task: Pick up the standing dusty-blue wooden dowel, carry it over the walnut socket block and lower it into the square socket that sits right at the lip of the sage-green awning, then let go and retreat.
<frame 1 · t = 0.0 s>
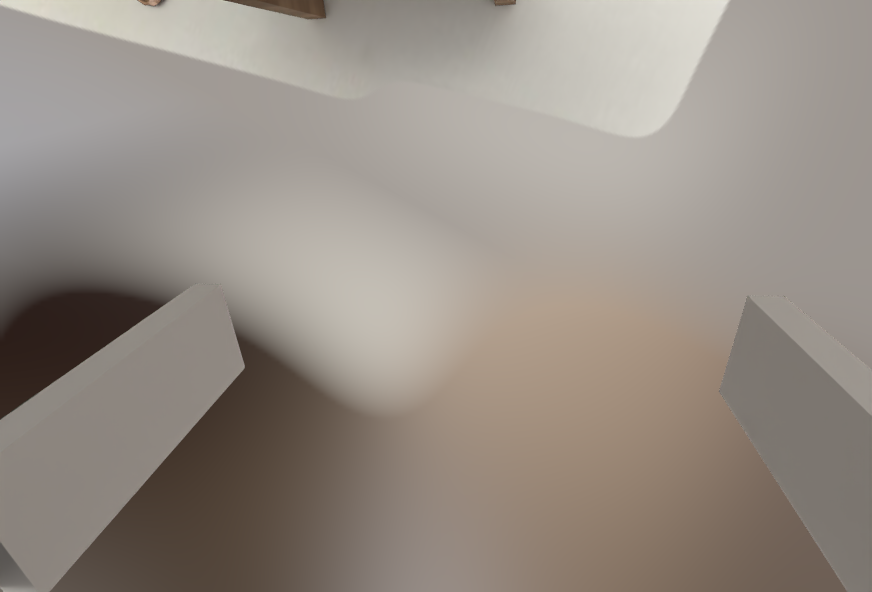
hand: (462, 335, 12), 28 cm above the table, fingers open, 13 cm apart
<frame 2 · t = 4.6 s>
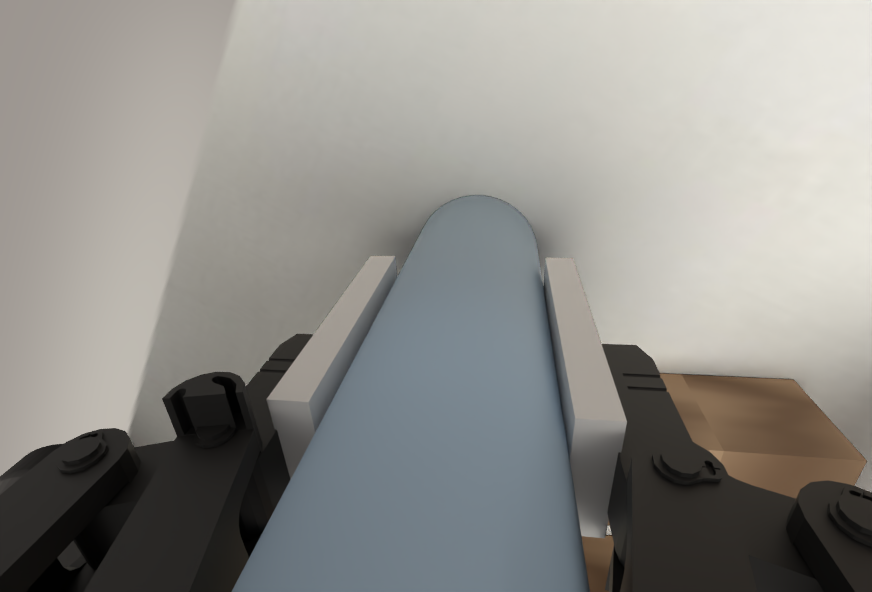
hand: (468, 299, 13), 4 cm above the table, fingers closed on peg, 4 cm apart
socket station: (584, 491, 21), on the table
peg: (476, 254, 17), on the table, touching gripper
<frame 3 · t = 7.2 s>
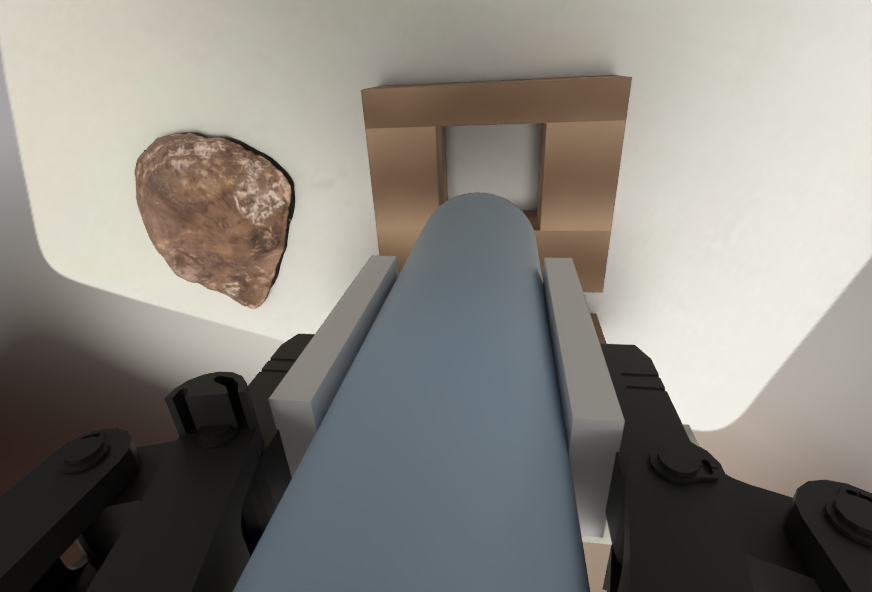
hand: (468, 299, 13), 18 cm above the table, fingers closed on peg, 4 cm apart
shell: (222, 212, 34), on the table
socket station: (492, 166, 29), on the table
peg: (477, 250, 17), point 14 cm above the table, touching gripper
when the fingers open (6 cm above the table, at t = 9.6 s): peg stays where it is, resting in socket station.
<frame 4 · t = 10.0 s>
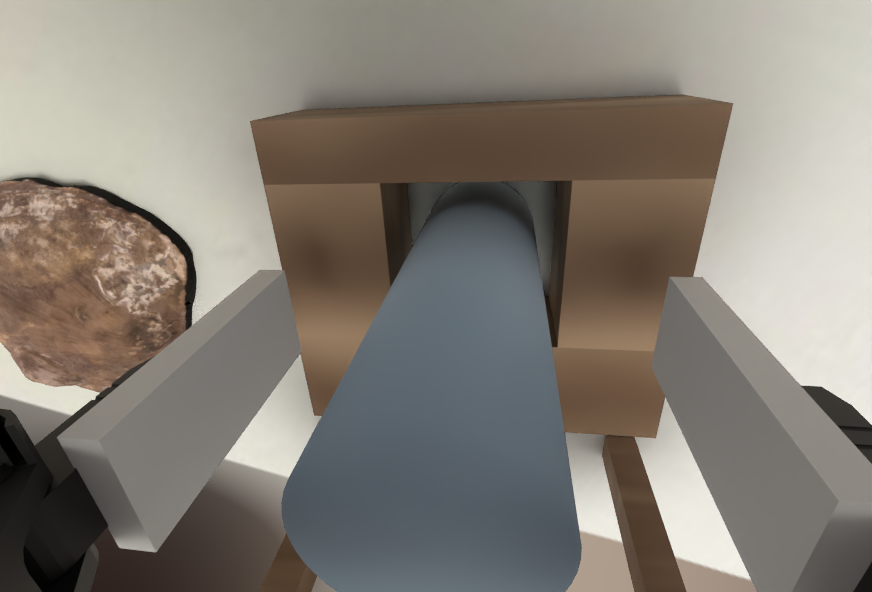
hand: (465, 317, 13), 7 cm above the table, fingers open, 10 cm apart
shell: (99, 286, 24), on the table
socket station: (480, 231, 19), on the table
peg: (480, 231, 19), resting in socket station
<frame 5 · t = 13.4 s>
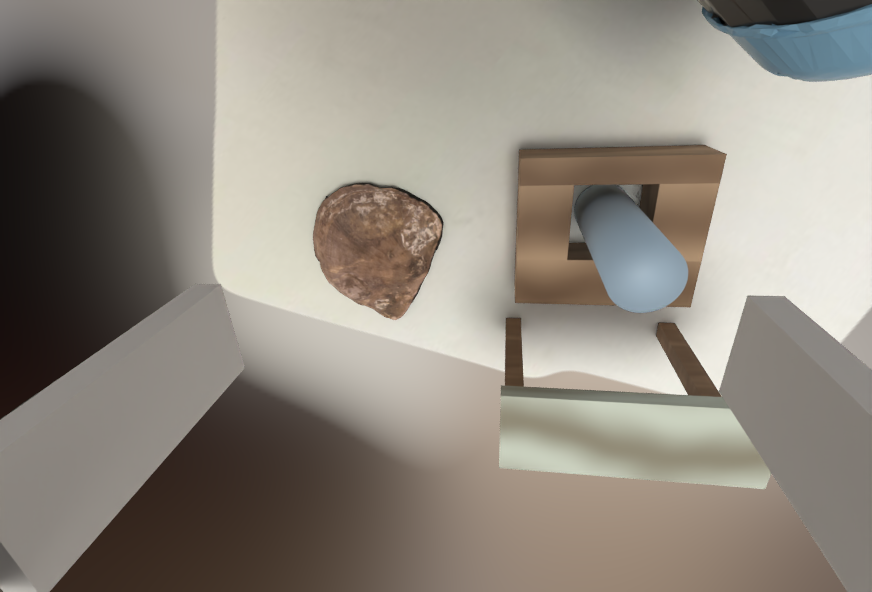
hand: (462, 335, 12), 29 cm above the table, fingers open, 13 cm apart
shell: (376, 243, 43), on the table
socket station: (601, 209, 38), on the table
peg: (601, 208, 38), resting in socket station
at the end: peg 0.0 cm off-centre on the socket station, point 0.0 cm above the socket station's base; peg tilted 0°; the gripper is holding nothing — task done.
